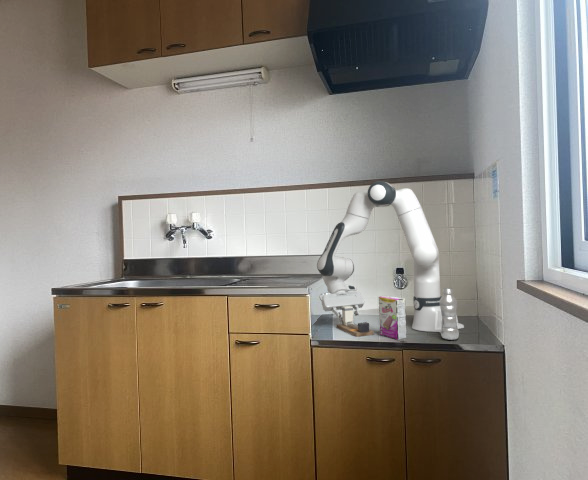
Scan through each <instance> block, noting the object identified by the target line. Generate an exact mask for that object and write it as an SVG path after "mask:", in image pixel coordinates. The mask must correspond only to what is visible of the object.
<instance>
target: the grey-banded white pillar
mask: <svg viewBox="0 0 588 480" xmlns="http://www.w3.org/2000/svg"><path fill="white" fill-rule="evenodd" d="M341 318H342V320H343V321H344V325H346V326H347V322H352V323H353V322H354V309H353V307H352V306H343V307H342V310H341Z"/></svg>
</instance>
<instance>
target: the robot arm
mask: <svg viewBox="0 0 588 480" xmlns="http://www.w3.org/2000/svg"><path fill="white" fill-rule="evenodd" d="M389 206H392V207H393V209H394V211H395V212H396V216H397V218H398V221H399V223H400V226H401V228H402V231H403V234H404V236H405V240H406V242H407V245H408V248H409V251H410V254H411V256H412V258H413V293H414V295H413V300H412V301H413V308H414V311H413V320H412V325H411V329H413V330H415V331H421V332H435V333H441V327H442V315H441V308H440V299H441V297H442V296H441V281H440V280H441V277H440V276H441V275H440V252H439V250H440V249H439V247H438V246H437V243H436V239H435V238H434V235H433V233H432V229H431V227H430V225H429V222H428V219H427V218H426V215H425V212H424V210H423V207H422V205H421V203H420V202H419V199H418V198H417V196H416V193H415V192H414V191H413V190H412V189H411V188H407V187H404V188H400V189H396V188H395V187H394V186H393V185H392V184H391V183H389V182H387V181H383V180H377V181H374V182H373V183H372V184H370V185H369V186H368V189H367V192H365V191H358V192H355V193H354V194H353V195H352V197H351V200H350V201H349V204H348V206H347V209H346V213H345V215H344V217H343V218H342V220H341V221H340V222H338V223H337V224H336V225H335V226H334V228H333V230H332V232H331V235H330V237H329V239H328V242H327V243H326V246H325V248H324V250H323V252H322V254H321V255H320V257H319V258H318V260H317V262H316V269H317V270H318V272H319V274H320V275H321V277H322V279H323V282H324V285H325V286H326V289H327V292H325V293H324V292H323V293H321V294H319V296H318V297H319V300H320V301H321V305H322V310H323V311H324V312H332V313H333V314H334V315H335V316H336V318H337V319H339V318H342V312H340V311H342V307H343V306H352V307H353V315H354V316H355V317H357V316H359V315H360V312H359V309H362V308H363V306H364V304H365V301H364V298H363V296H362V294H361V293H360V292H359V291H358V288H357V286H355V285H350V284H346V283H345V281H347V280H348V279H349V278H350V277H351V276H352V275H353V274H354V272H355V265H354V262H353V260H352V259H351V258H349V257H344V256H342V257H341V256H336V253H337V252H338V250H339V246H340V245H341V243H342V241H344V239H346V238H348V237H350V236H354V235H355V236H356V235H358V234H360V233H362V232H364V230H365V229H366V228H367V226H368V223H369V220H370V217H371V214H372V211H373V209H374V208H375V207H378V208H379V207H385V208H386V207H389ZM456 320H457V328H458V330H459V329H464V328H465V325H464V324H462V323H459V320H458V315H457V314H456Z"/></svg>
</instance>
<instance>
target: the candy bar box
mask: <svg viewBox="0 0 588 480" xmlns="http://www.w3.org/2000/svg"><path fill="white" fill-rule="evenodd" d="M378 311H379V312H378V314H379V315H378V316H379V317H378V318H379V319H378V320H379V335H380V336H383V337H387V338H390V339H394V340H397V341H401V340H405V339H407V338H408V337H407V316H406V315H407V313H406V312H407V311H406V298H403V297H397V296H392V295H382V296H378Z"/></svg>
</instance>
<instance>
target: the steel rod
mask: <svg viewBox="0 0 588 480" xmlns="http://www.w3.org/2000/svg"><path fill="white" fill-rule="evenodd" d="M347 326H349V327H351V328H354V329H357V330H358V332H360V333H363V332H369V330H370V323H369V322H367V321H366V322H365V321H364V322H357V323H354V322H353V321H352V322H347Z"/></svg>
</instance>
